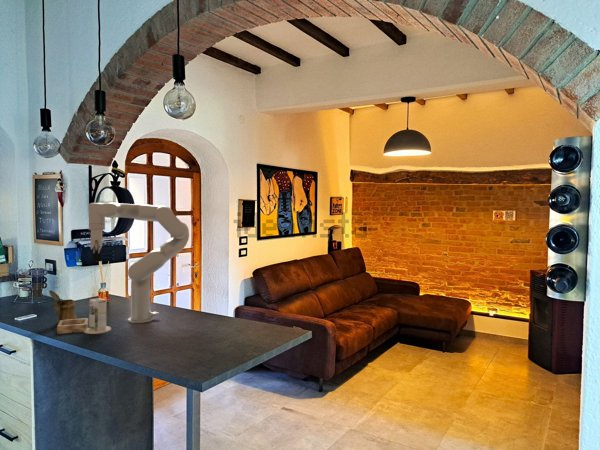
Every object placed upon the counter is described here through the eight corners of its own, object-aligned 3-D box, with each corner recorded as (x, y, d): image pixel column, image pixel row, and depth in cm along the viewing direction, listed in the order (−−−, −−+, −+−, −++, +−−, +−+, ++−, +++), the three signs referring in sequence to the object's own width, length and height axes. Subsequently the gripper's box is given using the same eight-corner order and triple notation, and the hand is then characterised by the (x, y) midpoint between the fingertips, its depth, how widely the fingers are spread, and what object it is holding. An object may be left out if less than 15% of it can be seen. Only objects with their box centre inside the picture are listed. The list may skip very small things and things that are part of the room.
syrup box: (88, 329, 210) (88, 299, 209) (99, 326, 215) (99, 297, 214) (95, 331, 207) (95, 301, 206) (107, 328, 212) (107, 299, 211)
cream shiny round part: (111, 326, 219) (111, 324, 218) (110, 332, 207) (110, 331, 207) (84, 328, 214) (84, 327, 214) (82, 335, 203) (82, 333, 203)
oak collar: (88, 324, 220) (88, 318, 220) (86, 331, 209) (86, 324, 209) (60, 327, 215) (60, 320, 215) (57, 333, 204) (57, 326, 204)
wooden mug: (44, 324, 219) (44, 289, 219) (70, 319, 231) (70, 285, 230) (54, 327, 215) (54, 291, 214) (80, 321, 226) (80, 287, 226)
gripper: (90, 226, 231) (90, 258, 231) (87, 227, 215) (87, 262, 215) (105, 226, 234) (105, 257, 234) (104, 227, 218) (104, 261, 218)
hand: (97, 259), depth 225 cm, fingers open, 9 cm apart
